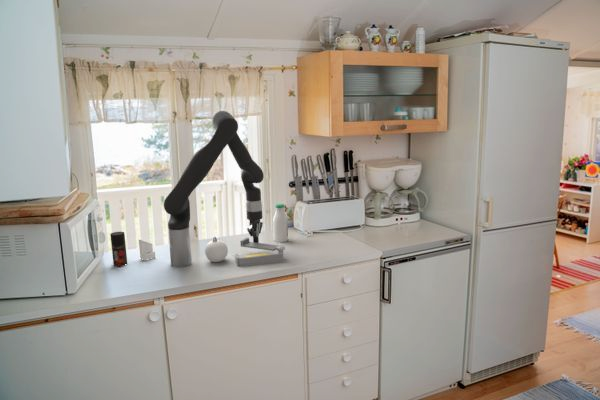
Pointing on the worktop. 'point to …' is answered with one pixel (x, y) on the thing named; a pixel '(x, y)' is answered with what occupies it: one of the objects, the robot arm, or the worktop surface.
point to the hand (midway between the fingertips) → (256, 243)
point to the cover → (260, 245)
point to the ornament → (216, 250)
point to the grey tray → (259, 258)
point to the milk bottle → (280, 224)
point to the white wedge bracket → (146, 250)
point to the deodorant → (118, 248)
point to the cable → (257, 255)
